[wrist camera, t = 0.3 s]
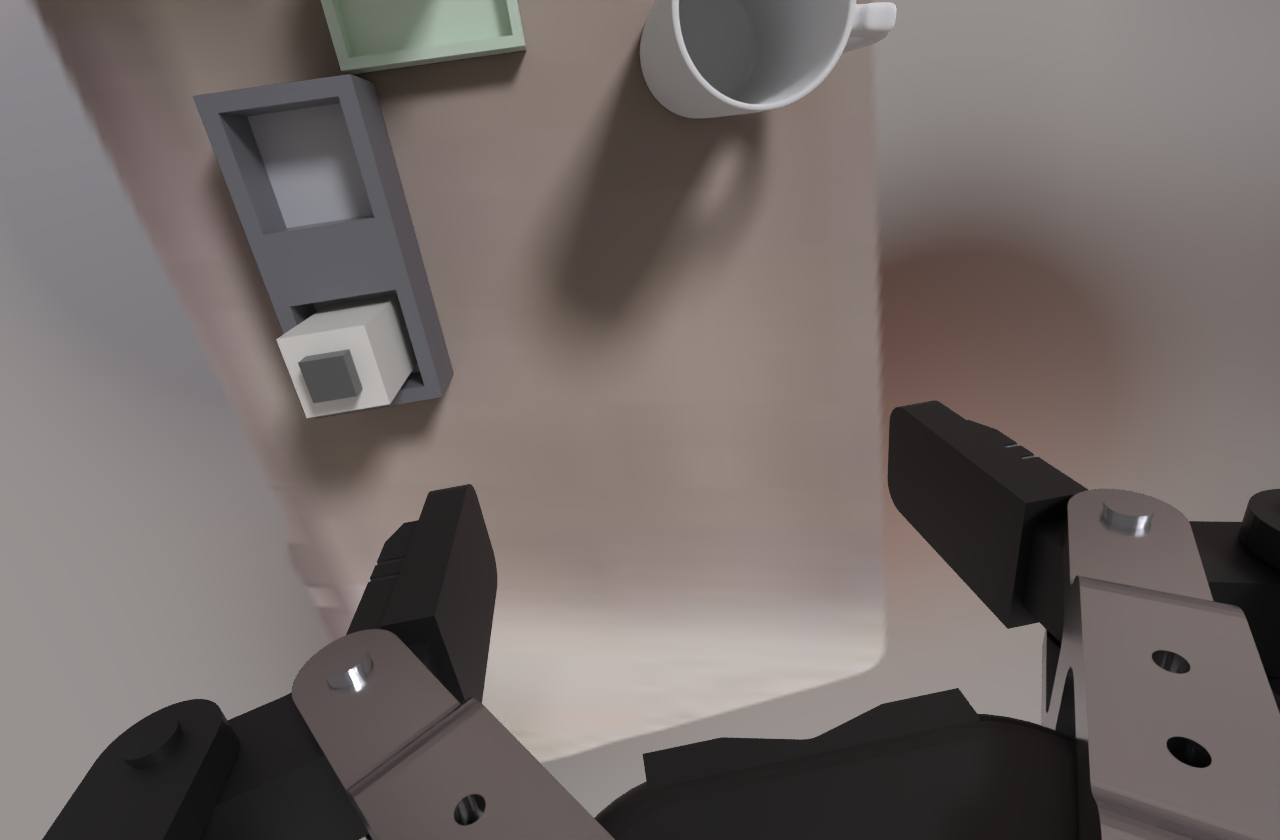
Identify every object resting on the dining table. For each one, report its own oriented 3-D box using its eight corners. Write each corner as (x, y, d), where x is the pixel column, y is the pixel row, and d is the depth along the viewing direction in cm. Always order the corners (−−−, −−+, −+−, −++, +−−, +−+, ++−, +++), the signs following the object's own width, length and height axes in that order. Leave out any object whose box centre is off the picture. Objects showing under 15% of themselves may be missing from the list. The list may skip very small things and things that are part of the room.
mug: (633, 122, 34) (668, 108, 23) (634, -25, 32) (675, -118, 21) (809, 125, 35) (922, 114, 24) (824, -16, 33) (958, -99, 22)
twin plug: (327, 305, 35) (266, 345, 28) (399, 293, 35) (358, 330, 28) (350, 371, 37) (299, 426, 29) (418, 360, 37) (384, 411, 30)
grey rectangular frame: (234, 102, 32) (192, 95, 28) (373, 82, 32) (350, 74, 28) (339, 393, 38) (316, 418, 34) (453, 373, 39) (442, 397, 35)
